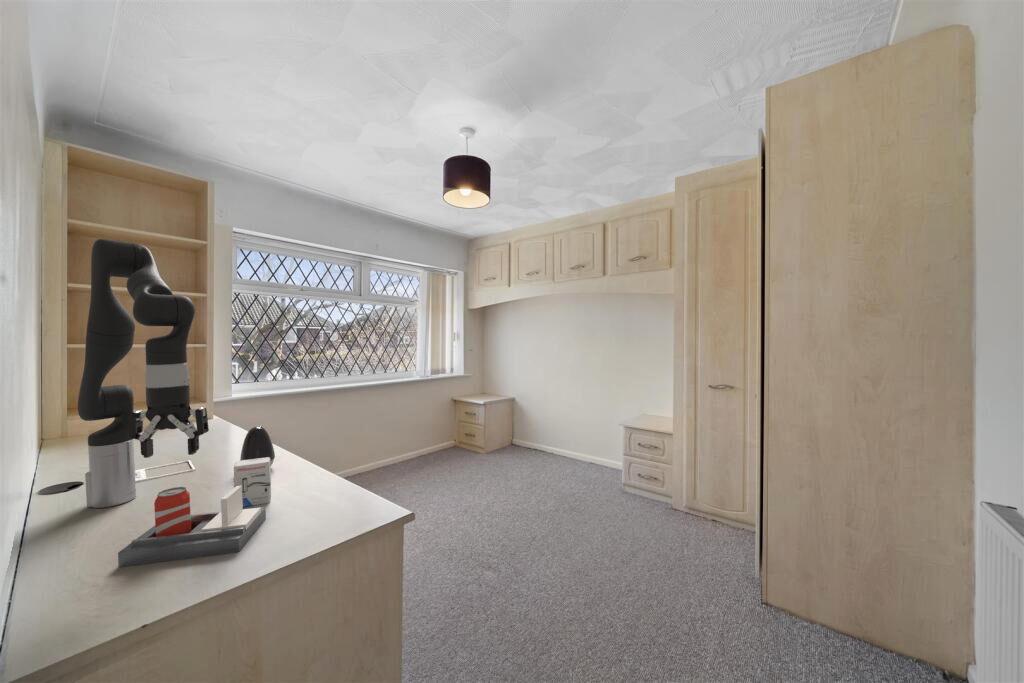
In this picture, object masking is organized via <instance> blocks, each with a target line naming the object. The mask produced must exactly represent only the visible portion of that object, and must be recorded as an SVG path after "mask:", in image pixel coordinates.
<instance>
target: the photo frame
mask: <svg viewBox="0 0 1024 683" xmlns="http://www.w3.org/2000/svg"><path fill="white" fill-rule="evenodd" d="M184 463H189V465H190V467H191V468H190V469H186V470H180V471H176V472H170V473H166V474H161V475H157V476H151V477H147V474H146V473H147V472H146V470H148V471H149V470H154V469H158V468H159V469H160V468H165V467H168V466H175V465H178V464H179V465H180V464H184ZM194 471H196V467H195V466H194V465H193V463H192V460H190V459H188V460H187V459H186V460H184V461H183V460H182V461H177V462H173V463H166V464H162V465H157V466H151V467H146V468H145V467H144V468H140V469H135V484H136V483H141V482H145V481H150V480H155V479H160V478H165V477H170V476H174V475H180V474H185V473H189V472H194Z"/></svg>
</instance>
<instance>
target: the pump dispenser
mask: <svg viewBox="0 0 1024 683" xmlns="http://www.w3.org/2000/svg"><path fill="white" fill-rule="evenodd" d="M275 453H276V452H275V448H274V445H273V442H272V438H271V437H270V435H269V433H268V431H267V430H266V429H265V428H264V427H263V426H262V425H260V426H253V427H252V428H250V429H249V430H248V431H247V433H246V434H245V437H244V440H243V443H242V447H241V452H240V458H239V461H242V460H250V459H258V458H266V457H269V458H270V467H272V465H273V463H274V460H275V458H276V454H275Z"/></svg>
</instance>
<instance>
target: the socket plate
mask: <svg viewBox="0 0 1024 683" xmlns="http://www.w3.org/2000/svg"><path fill="white" fill-rule="evenodd" d="M259 508H261V513H260V514H259V515H258V517H257V518H256V519H255V520H254V521H253V522H252V524H251V525H250V526H249V527H248V528H247V529H246V530H245V527H239V528H230V529H222V530H213V531H204V532H201V529H202V528H203V527H205V526H206V525H207V524H208V523H209V522H210V521H211V520H212V519H213V518H214V517H215V516H216V515H218V514H219V513H220V512H221V511H215V512H214V511H213V512H205V513H195V514H191V532H190V533H187V534H178V535H169V536H161V537H156V528H155V525H153V526H152V527H151V528H149V529H148V530H146V531H145V532H144V533H142V534H141V535H140V536H139V537H137V538H136V539H133V540H131V542H130V543H129V544H128V545H126V546H125V547H124V548H122V549H121V550H119V551H118V552H117V560H118V561H117V563H118V568H122V567H131V566H139V565H148V564H155V563H163V562H170V561H179V560H185V559H193V558H194V559H195V558H202V557H209V556H210V557H211V556H219V555H224V554H225V555H226V554H234V553H240V552H241V550H242V549H243V548H244V547H245V545H247V543H248V541H250V539H251V538H252V537H253V535H255V533H256V532H257V530H259V528H260V527H261V526H262V524H263V523H264V522H265V520H266V519H267V513H266V510H267V509H266V507H265V506H264V507H263V506H262V507H261V506H260V507H259Z"/></svg>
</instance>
